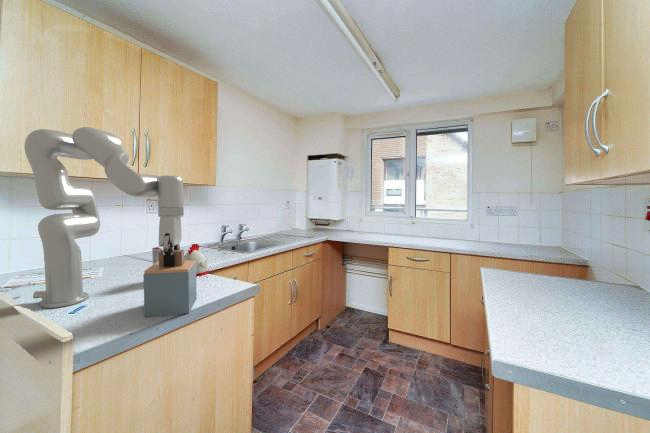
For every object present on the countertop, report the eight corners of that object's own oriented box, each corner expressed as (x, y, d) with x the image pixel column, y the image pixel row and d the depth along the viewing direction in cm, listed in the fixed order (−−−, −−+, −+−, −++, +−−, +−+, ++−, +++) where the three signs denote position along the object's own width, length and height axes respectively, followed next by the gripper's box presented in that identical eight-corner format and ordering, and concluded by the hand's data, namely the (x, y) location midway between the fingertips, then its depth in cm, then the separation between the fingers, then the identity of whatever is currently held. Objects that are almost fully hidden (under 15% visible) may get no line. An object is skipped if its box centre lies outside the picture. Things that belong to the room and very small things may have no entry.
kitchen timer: (214, 270, 140) (214, 242, 139) (198, 278, 127) (198, 247, 125) (189, 269, 142) (189, 241, 141) (171, 276, 128) (171, 245, 127)
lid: (144, 278, 85) (143, 255, 85) (157, 268, 97) (157, 247, 97) (188, 276, 89) (187, 254, 88) (195, 266, 101) (195, 247, 100)
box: (144, 317, 86) (143, 274, 85) (157, 301, 98) (157, 264, 97) (189, 313, 89) (188, 272, 88) (196, 298, 102) (196, 262, 101)
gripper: (166, 210, 99) (167, 259, 100) (149, 213, 82) (150, 271, 83) (188, 210, 101) (189, 258, 102) (176, 214, 84) (177, 270, 85)
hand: (172, 263), depth 93 cm, fingers open, 5 cm apart
